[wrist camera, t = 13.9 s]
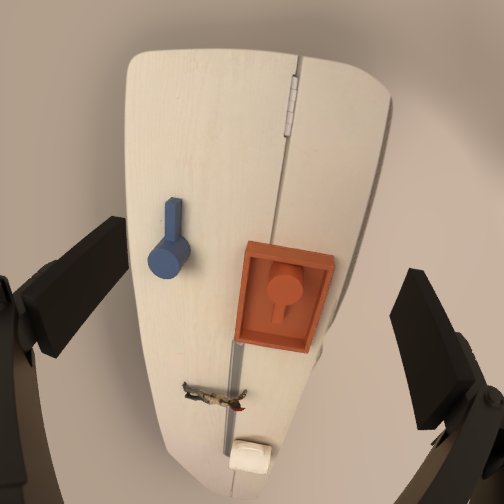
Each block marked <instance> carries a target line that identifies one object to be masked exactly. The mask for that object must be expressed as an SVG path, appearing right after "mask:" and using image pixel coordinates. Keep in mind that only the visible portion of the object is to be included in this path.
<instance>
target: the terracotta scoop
mask: <svg viewBox="0 0 504 504" xmlns="http://www.w3.org/2000/svg"><path fill="white" fill-rule="evenodd" d="M266 291H267V295H268V297H269V298H270V299H271V300H272V301H273V302H275V304H274V309H273V314H272V321H271V323H275V324H282V321H283V316H284V312H285V308H286V305H292V304H294V303H296V302H297V301H299V300H300V298H301V297H302V295H303V266H300V265H294V264H289V263H283V262H277V261H274V262H273V263H272V265H271V267H270V272H269V277H268V283H267V288H266Z"/></svg>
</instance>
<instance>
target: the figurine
mask: <svg viewBox="0 0 504 504" xmlns="http://www.w3.org/2000/svg"><path fill="white" fill-rule="evenodd" d="M182 386H183V388H184V391H185V393H186V392H187V394H186V395H185V398H189V399H192V400H201V401H203V402H204V401H205V403H207V404H218V405H221V406H224V407H226V406H230V407H231V408H232V409H233V410H234V411H242V410H244V409H245V408H241V405H240V403H239V401H238V400H240V399H241V400H242V398H243V395H245V396H246V394H245V393H246V392H247V390H244V392H243V393H242V394H240V395H241V396H238V397H236V398H234V399H232V400H228V399H227V398H226V397H223V396H218V395H212V394H214V393H212V394H211V395H209V394H206V393H204V392H202V391H200V390H198V389H192V388H189V387H187V386H186V383H185V382H184V384H183V385H182ZM190 393H196V394H197V395H198V396H193V395H191V394H190ZM245 396H244V397H245Z"/></svg>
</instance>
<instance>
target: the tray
mask: <svg viewBox="0 0 504 504" xmlns="http://www.w3.org/2000/svg"><path fill="white" fill-rule="evenodd" d="M274 261H277V262H283V263H289V264H294V265H300V266H303V295H302V297H301V298H300V300H299V301H297V302H296V303H294V304H292V305H286V308H285V312H284V316H283V321H282V324H275V323H271V321H272V314H273V309H274V304H275V302H273V301H272V300H271V299H270V298H269V297H268V295H267V291H266V288H267V283H268V277H269V272H270V267H271V265H272V263H273V262H274ZM334 268H335V264H334V257H333V256H332V255H326V254H321V253H315V252H310V251H304V250H299V249H293V248H287V247H282V246H276V245H270V244H265V243H259V242H253V241H248V244H247V247H246V250H245V256H244V264H243V272H242V280H241V288H240V296H239V304H238V312H237V320H236V328H235V337H234V341H238V342H243V343H248V344H253V345H259V346H264V347H270V348H276V349H282V350H288V351H294V352H300V353H307V354H308V352H309V349H310V346H311V343H312V340H313V337H314V334H315V331H316V328H317V324H318V321H319V318H320V315H321V312H322V309H323V305H324V302H325V299H326V296H327V292H328V289H329V285H330V282H331V279H332V275H333V271H334Z"/></svg>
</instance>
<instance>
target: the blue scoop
mask: <svg viewBox="0 0 504 504" xmlns="http://www.w3.org/2000/svg"><path fill="white" fill-rule="evenodd" d="M181 203H182V199H180V198H173V197H171V198H170V199H169V200H168V201H167V202H166V203H165V237H164V238H163V239H162V240H161V241H160V242H159V243H158V245H157V246H156V247H155V248H154V249H153V250H152V252H151V253H150V254H149V256H148V265H149V268H150V269H151V271H152V272H153V273H154V274H155V275H156V276H158V277H160V278H163V279H172V278H174V277H175V276H176V275H177V274H178V273H179V271H180V270H181V268H182V266H183V265H184V263H185V262H186V260H187V259H188V257H189V255H190V246H189V243H188V242H187V240H186V239H185V238H184V237H182V236H180V235H181Z"/></svg>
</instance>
